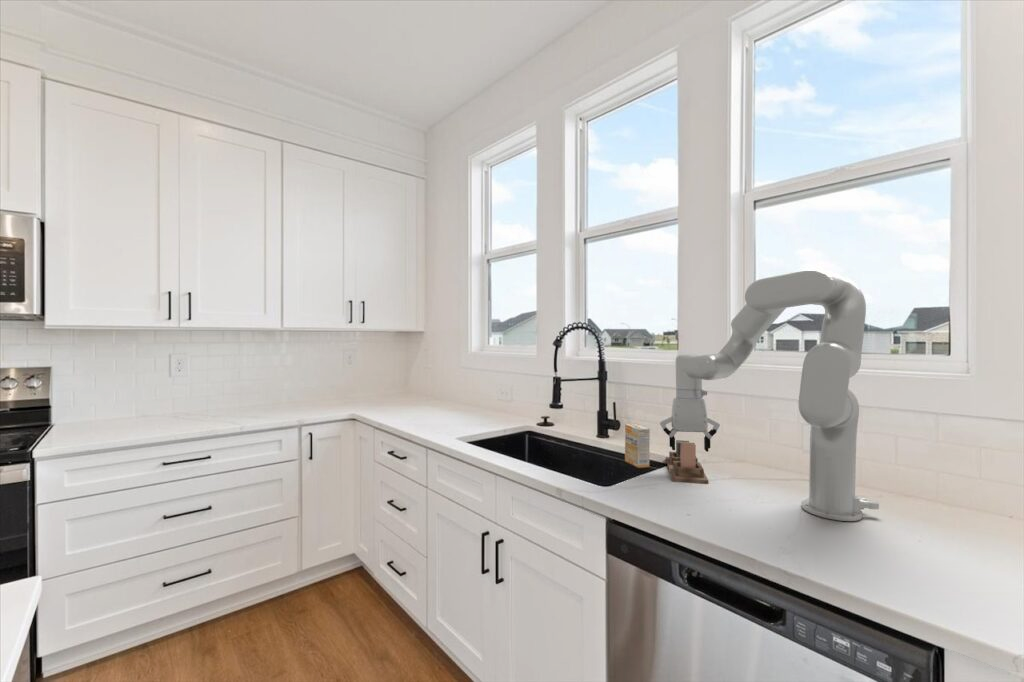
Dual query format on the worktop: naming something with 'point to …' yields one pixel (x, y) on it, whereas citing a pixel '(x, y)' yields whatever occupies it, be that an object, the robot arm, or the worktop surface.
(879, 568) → the worktop surface
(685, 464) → the terracotta plug
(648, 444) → the supplement box
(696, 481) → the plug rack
